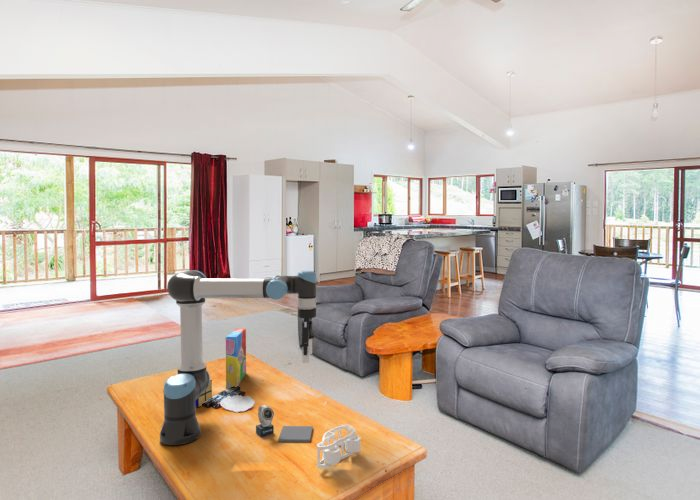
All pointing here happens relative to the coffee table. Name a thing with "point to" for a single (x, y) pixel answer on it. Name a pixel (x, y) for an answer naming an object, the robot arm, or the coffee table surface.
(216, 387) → the coffee table surface
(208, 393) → the puzzle cube
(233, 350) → the game box
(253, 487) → the coffee table surface
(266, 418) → the watch
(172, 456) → the coffee table surface
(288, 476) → the coffee table surface
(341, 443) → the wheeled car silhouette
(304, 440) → the mat
